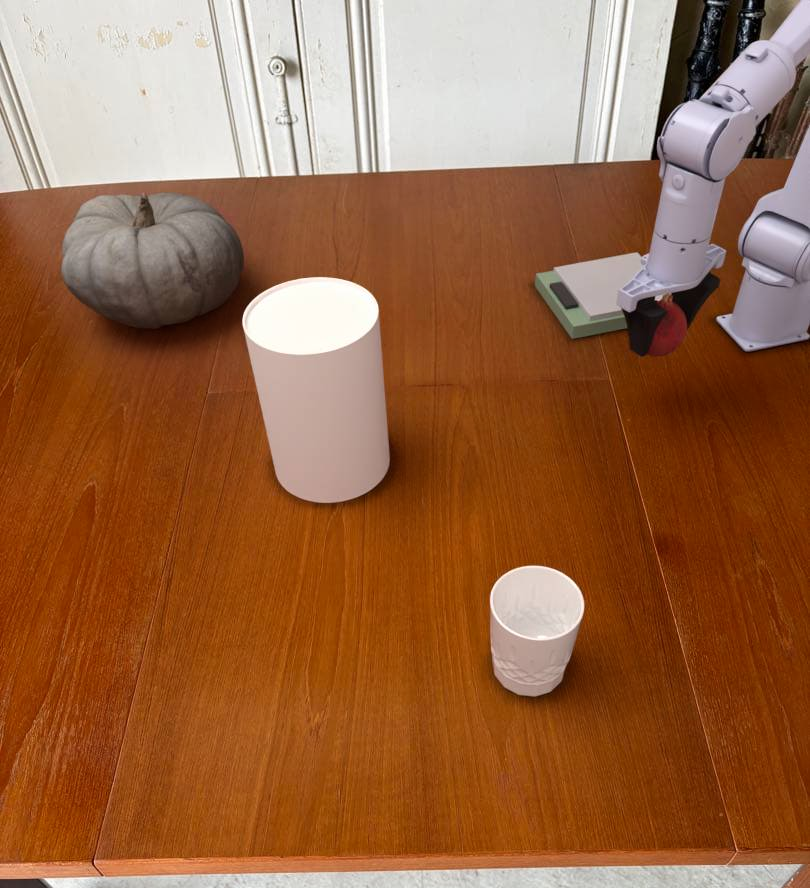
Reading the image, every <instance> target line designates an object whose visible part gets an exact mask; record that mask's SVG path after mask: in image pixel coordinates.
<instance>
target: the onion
mask: <svg viewBox="0 0 810 888" xmlns="http://www.w3.org/2000/svg"><path fill="white" fill-rule="evenodd" d="M672 298H673V296H672V295H670V294H669V293H668V294H665V295H663V297H662V299H661V300H660V301H657V305H659V306H661V307H662V308H664V309H666V310H667V311H668V313H667V314H666V315H665V316H664V317H663V319H662V320H661V322H660V324H659V325H658V327H657V329H656V332H655V334H654V337H653V341H652V344H651V347H650V349H649V351H648V353H647V355H648V356H650V357H652V358H658V357H665V356H667V355H669V354H671V353H672V352H674V351H676V350H677V349H678V348H679V347H680V346H681V345H682V343H683V342H684V339H685V337H686V336H687V332H688V330H687V322H686V317H685V314H684V312H683V311H682V309H681V308H680V307H679V306H678V305H677V304H676V303H674V302H672ZM647 355H646V356H647Z"/></svg>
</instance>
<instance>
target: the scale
mask: <svg viewBox="0 0 810 888" xmlns="http://www.w3.org/2000/svg"><path fill="white" fill-rule="evenodd" d="M641 257H642V255H641V254H640V253H638V252H637V251H636V252H632V253H625V254H620V255H615V256H610V257H604V258H598V259H593V260H588V261H587V260H586V261H582V262H576V263H570V264H565V265H561V266H555V267H553V270H548V271H543V272H538V273H535V279H534V287H535V289H536V290H537V292H538V293H539V294H540V296H541V297H542V299H543V300H544V301H545V303H546V304H547V306H548V307H549V308H550V310H551V312H552V313H553V314H554V316H555V317H556V319H557V320H558V321H559V323H560V324H561V326H562V327H563V328H564V330H565V331H566V333H567V334H568V336H569V337H570V338H571V340H574V339H579V338H584V337H590V336H594V335H600V334H604V333H610V332H615V331H620V330H625V329H628V328H627V323H626V319H625V316H624V314H623V311H622V309H621V307H619V306H618V305H616V302H617V296H618V291H619V289H620V288H622V287H623V286H625V285H626V284H627V283H628V282H629V281H630V280H631V279H632V278H633V277H634V276H635V275H636V274H637V273H638V272H639V270H640V269H641V268H642V267H643V266H644V265H642V264H641ZM669 294H670V295H671V293H669ZM663 295H665V294H663ZM663 295H658V296H656V297H655V300H657V301H660V300H661V299H662V297H663Z"/></svg>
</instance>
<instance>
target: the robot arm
mask: <svg viewBox="0 0 810 888" xmlns="http://www.w3.org/2000/svg"><path fill="white" fill-rule="evenodd" d="M809 55H810V0H799V2H798V3H797V4H796V5H795V6H794V8H793V9H792V11H791V12H790V13H789V14H788V15H787V17H786V18H785V20H783V22H782V23H781V25H780V26H779V27H778V28H777V29H776V31H775V32H774V33H773V35H771V37H770V39H768V40H767V39H766V40H765V39H760V40H756V41H754V42H751V43H750V44H749V45H748V46H747V47H745V49H744V50H743V51H742V52H741V53H740V54H739V56H738V57H737V58H736V59H735V60H734V61H733V62H732V63H731V64H730V65H729V66H728V67H727V69H725V70H724V72H723V73H722V74H721V75H720V76H719V77H718V78H717V79H716V80H715V82H714V83H712V84H711V86H710V87H709V88H708V89H707V90H706V91H704V93H703V94H702V95H701V96H700V98H699V99H692V100H689V101H686V102H683V103H680V104H679V105H677V106H676V107H675V108H674V110H673V111H672V112H671V113H670V114H669V116H668V117H667V119H666V120H665V122H664V125H663V127H662V131H661V134H660V136H658V138H657V142H656V143H657V144H656V151H657V156H658V158H659V161H660V168H659V172H658V177H659V180H660V181H661V183H662V187H661V192H660V197H659V202H658V206H657V212H656V217H655V223H654V226H653V227H654V228H653V232H652V237H651V243H650V248H649V253H646V254H644V255H643V256H642V255H641V264H642V265H644V266H643V267H642V268H641V269H640V270H639V272H638V273H637V274H636V275H635V276H634V277H633V278H632V279H631V280H630V281H629V282H628V283H627V284H626V285H625V286H623V287H622V288H620V289H619V291H618V296H617V302H616V305H618V306H619V307H621V309H622V311H623V314H624V316H625V319H626V323H627V328H626V329H627V335H628V344H629V350H630V351H631V352H633V353H634V354H636V355H638V356H640V357H641V358H643V357H646V356H647V353H648V351H649V349H650V347H651V344H652V341H653V337H654V334H655V332H656V329H657V327H658V325H659V324H660V322H661V320H662V319H663V317H664V316H665V315H666V314H667V313H668V311H667V310H666V309H664V308H662V307H661V306H659V305H657V300H655V297H656V296H658V295H663V294H668V293H671V295H672V296H673V298H672V302H674V303H676V304H677V305H678V306H679V307H680V308H681V309H682V311H683V312H684V314H685V317H686V322H687V331H688V330H689V328H690V327H691V325H692V323H693V321H694V319H695V318H696V316H697V314H698V313H699V311H700V310H701V308H702V307H703V305H704V304H705V302H706V301H707V300H708V298H709V297H711V295H712V294H713V293H714V292H716V290H717V289H718V288H719V287H720V283H721V279H720V278H719V277H718V276H717V275H715V274H713V273H711V271H712V268H713V269H720V268H721V267H723V265H724V262H725V258H726V255H727V250H726V249H724V248H723V247H721V246H718V245H716V244H715V243H711V244H710V241H711V237H712V232H713V230H714V226H715V222H716V217H717V213H718V209H719V205H720V201H721V199H722V194H723V190H724V186H725V183H726V182H725V181H726V178H727V176H729V175H731V173H732V172H733V171H734V170H735V169H736V168H737V167H738V166H739V164H740V162H741V161H742V159H743V157H744V155H745V152H746V151H747V149H748V146H749V144H750V143H751V142H752V141H753V140H754V137H755V136H756V134H757V126H759V124H760V123H762V121H763V119H765V118H766V116H767V115H768V114H769V113H770V112H771V111H772V110H774V108H775V107H776V106H777V105H778V104H779V103H780V101H781V100H782V99H783V98H784V97H785V96H786V95H787V94H788V93H789V91H790V90H792V88H793V86H794V85H795V82H796V77H797V70H796V67H797V66H798V65H799V64H800V63H802V62H803V61H804V60H805V59H806V58H807V57H808V56H809ZM737 239H738V240H737V251H738V254H739V255H740V256H741V257H742V263H741V266H742V267H744V268H745V271H744V274H743V277H742V280H741V284H740V287H739V291H738V294H737V297H736V301H735V304H734V307H733V310H732V313H728V314H724V315H718V316H716V318H715V321H716V322H717V323H718V324H719V326H721V328H722V329H723V330H724V331H725V332H726V333H727V334H728V335H729V336H730V337H731V338H732V339H733V340H734V341H735V343H736V344H737V345H738V346H739V347H740V348H741V349H742V350H743V351H744V352H753V351H754V352H755V351H759V350H763V349H768V348H773V347H778V346H782V345H786V344H787V345H789V344H793V343H797V342H801V341H807V340H809V339H810V334H809V333H808V329H809V327H810V124H809V126H808V128H807V130H806V133H805V136H804V138H803V140H802V142H801V145H800V147H799V149H798V152H797V154H796V157H795V159H794V162H793V164H792V167H791V169H790V172H789V174H788V176H787V178H786V181H785V184H784V186H783V188H782V187H781V188H780V189H777V190H775V191H772V192H769V193H767V194H765V195H763V196H762V197H761V198H759V199H758V201H757V202H756V205H755V207H754V209H753V211H752V213H751V214H750V215H749V217H748V219H746V221H745V223H744V225H743V226H742V228H741V231H740V233H739V236H738V238H737Z"/></svg>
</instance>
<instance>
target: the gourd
mask: <svg viewBox="0 0 810 888" xmlns="http://www.w3.org/2000/svg"><path fill="white" fill-rule="evenodd" d="M61 252H62V261H61V267H60V270H61V271H60V273H61V277H62V280H63V283H64V285H65V286H66V287H67V289H68V290H69V292H70V293H71V294H72V295H73V296H74V297H75V298H76V299H77V300H78V301H79V302H80V303H81V304H82V305H84V306H85V307H87V308H89V309H91V310H92V311H94V312H95V313H96V314H98V315H99V316H102V317H104V318H105V319H108V320H110V321H111V320H112V321H115V322H117V323H120V324H122V325H125V326H129V327H133V328H136V329H151V330H152V329H153V330H155V329H159V328H161V327H163V326H169V325H176V324H183V323H186V322H189V321H190V320H192V319H194V318H196V317H199V316H204V315H205V314H207V313H208V312H210V311H213V310H216V309H217V308H219V307H220V306H222V305H223V304H224V303H225V302H226V301H227V300H228V299H229V298H230V297H231V295H232V294H233V293H234V291H235V290H236V288H237V286H238V284H239V281H240V279H241V276H242V273H243V270H244V262H245V261H244V259H245V255H244V249H243V244H242V242H241V239H240V237H239V235H238V233H237V232H236V230H235V228H234V227H233V226H232V225H231V224H230V223H229V222H228V221H226V219H225V218H224V216H223V215H222V214H221V213H220V212H219V210H217V209H216V208H214V207H213V206H211V205H210V204H208V203H206V202H205V201H203V200H202V199H199V198H198V197H195V196H188V195H185V194H183V193H180V192H157V193H153V194H150V195H147V194H146V192H144V191H143V192H141V194H140V195H130V194H125V193H121V194H117V195H112V194H102V195H98V196H96V197H94V198H92V199H89V200H88V201H85V202H84V203H82V204H81V206H80V207H79V209H78V211H77V213H76V215H75V216H74V218H73V220H72V223H71V225H70V226H69V227H68V229H67V230H66V231H65V235H64V237H63V241H62V249H61Z"/></svg>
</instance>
